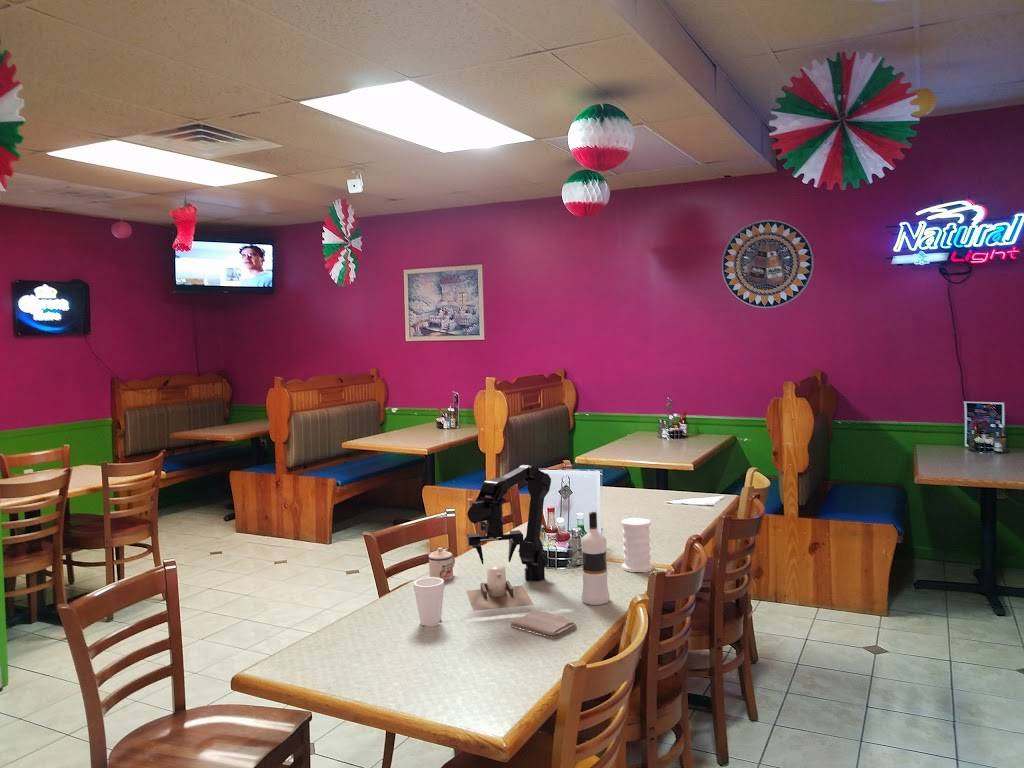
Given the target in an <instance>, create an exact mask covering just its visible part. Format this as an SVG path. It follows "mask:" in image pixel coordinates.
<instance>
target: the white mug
mask: <svg viewBox="0 0 1024 768" xmlns="http://www.w3.org/2000/svg"><path fill="white" fill-rule="evenodd" d="M506 571H507V570H506V566H505V565H502V564H492V565H489V566H487V567H486V580H487V581H486V583H487V587H488V595H489V596H493V597H499V596H503V595H505V594H506V581H507V577H506V576H507V575H506V574H507V573H506Z"/></svg>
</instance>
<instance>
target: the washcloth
mask: <svg viewBox="0 0 1024 768" xmlns="http://www.w3.org/2000/svg"><path fill="white" fill-rule="evenodd" d="M511 626H513V627H517V628H521V629H524V630H526V631H525V632H527V631H531V632H534V633H538V634H541V635H540V636H542V635H545V636H547V637H546V638H548V637H550V638H549V639H551V638H553V639H552V640H555V639H557V637H558V638H560V636H561V637H562V635H563V636H564V635H566V634H568V633H570V632H571V630H572V631H574V630H575V629H577V625H576V623H574V619H569V618H567V617H565V616H564V615H563V614H562V615H561V614H555V613H551V612H547V611H542V610H539V609H534V610H531V611H529V612H528V613H526V614H524V615H523V616H520V617H518V618H515V619H514V620H512V621H511V622H510V627H511ZM513 627H512V628H513ZM517 628H516V629H517ZM573 629H574V630H573ZM524 630H523V631H524ZM569 631H570V632H569ZM531 632H530V633H531ZM567 632H568V633H567ZM534 633H533V634H534ZM565 633H566V634H565ZM538 634H537V635H538Z"/></svg>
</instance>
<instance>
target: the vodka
mask: <svg viewBox="0 0 1024 768" xmlns="http://www.w3.org/2000/svg"><path fill="white" fill-rule="evenodd" d="M597 518H598V514H597V512H596V511H589V512H588V522H589V523H588V524H589V527H588V528H589V531H588V532H587V533H586V534H584V535H582V537H581V540H580V543H581V555H582V556H581V557H582V571H581V574H582V590H581V591H582V593H581V601H582V602H583V603H585V604H586V605H589V604H590V605H589V606H602V604H603V605H605V603H606V604H607V603H609V601H610V598H611V597H610V596H611V595H610V592H609V586H608V573H609V572H608V568H607V567H608V564H607V562H608V561H607V550H608V549H607V538H606V537H605V535H604V534H602V533H600V532H599V531H598V519H597Z"/></svg>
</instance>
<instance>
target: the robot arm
mask: <svg viewBox="0 0 1024 768" xmlns="http://www.w3.org/2000/svg"><path fill="white" fill-rule="evenodd" d="M523 481H524V482H525V483H526V484H527V485H526V486H527V487H526V488H527V491H528V493H529V496H530V498H529V509H528V516H527V526H526V535H525V537H524V533H522V531H521V530H519V529H518V530H510V531H509V533H506V534H505V533H504V516H503V515H504V512H503V504H505V503H507V500H506V498H504V496H506V495H507V494H508V492H509V490H510V489H511V488H512V487H514V486H515V485H517V484H520V483H521V482H523ZM551 484H552V478H551V477H550V475H549V473H546V472H543V471H542V470H539V469H538V468H536V467H534V466H533V465H531V464H521V465H519V466H518V467H517V468H515V469H514V470H511V471H510V472H508V473H506V474H504V475H502V476H501V477H495V478H490V479H486V480H484V482H483V483H482V486H481V488H480V490H479V492H478V495H477V497H476V501H475V502H471V506H470V507H469V508H468V510H467V518H468V520H469V522H470V523H472V524H475V525H476V524H479V531H480V532H484V534H485V535H480V534H479V533H478V532H477V533H468V534H467V536H466V543H467V545H468V546H469V547H472V549H476V552H477V553H478V557H479V559H480V563H481V565H484V556H483V549H482V544H481V542H495V541H508V553H507V554H508V557H507V558H508V561H507V562H509V563H511V560H512V558H513V555H514V552H515V550H516V548H517V547H518V546H519V547H518V551H517V552H518V556H519V558H520V559H519V560H520V562H521V564H522V565H525V568H524V580H525V581H526V582H539V581H540V582H541V581H544V580H545V579H546V577H545V572H546V571H545V568H546V567H547V566H548V565H549V560H550V559H549V558H548V557H547V556H546V554H545V553H544V545H543V542H542V539H541V530H542V523H543V522H542V521H543V512H544V502H545V497H546V496H547V495H548V494H549V492H550V490H551Z"/></svg>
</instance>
